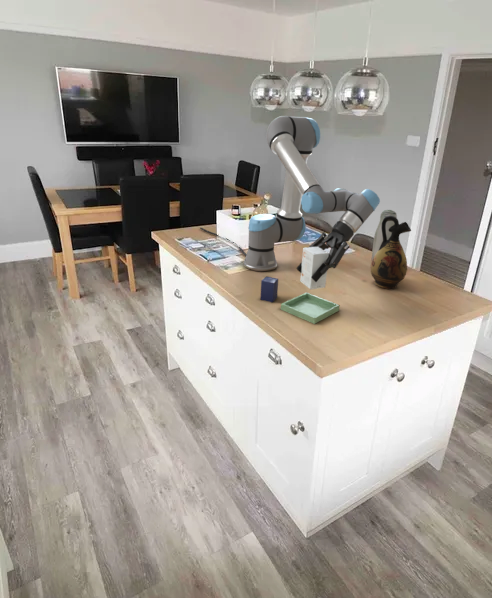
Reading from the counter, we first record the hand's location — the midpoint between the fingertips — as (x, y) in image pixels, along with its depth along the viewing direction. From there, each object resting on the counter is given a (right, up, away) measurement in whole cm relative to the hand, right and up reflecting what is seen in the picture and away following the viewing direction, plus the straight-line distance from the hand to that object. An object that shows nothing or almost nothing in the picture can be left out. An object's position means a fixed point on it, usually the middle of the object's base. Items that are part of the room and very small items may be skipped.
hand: (306, 275), depth 147 cm
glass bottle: (+38, +7, +57) cm, 69 cm away
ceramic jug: (+35, -2, +36) cm, 51 cm away
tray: (+2, -12, +8) cm, 15 cm away
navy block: (-14, -8, +14) cm, 21 cm away
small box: (+2, -3, +4) cm, 5 cm away
